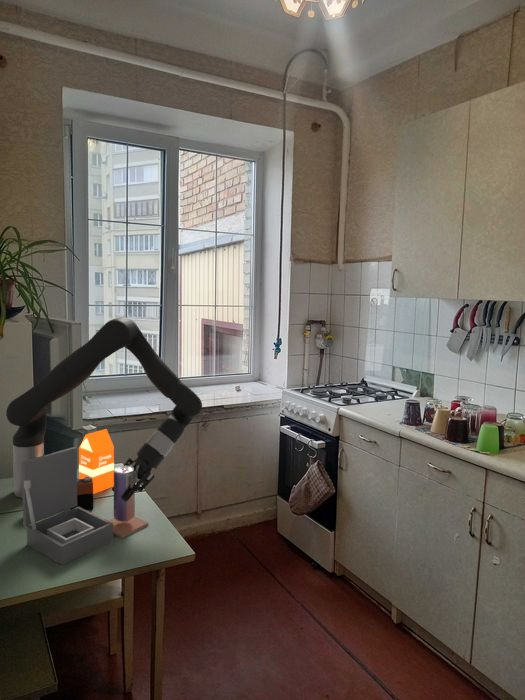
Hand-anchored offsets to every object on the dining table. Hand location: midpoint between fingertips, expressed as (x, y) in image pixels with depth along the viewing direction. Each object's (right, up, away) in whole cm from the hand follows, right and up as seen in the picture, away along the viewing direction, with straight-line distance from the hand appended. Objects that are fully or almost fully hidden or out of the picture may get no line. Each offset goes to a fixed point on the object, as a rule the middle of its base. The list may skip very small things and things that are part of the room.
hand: (118, 495), depth 147 cm
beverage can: (+1, -7, +2) cm, 8 cm away
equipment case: (-11, -11, -7) cm, 17 cm away
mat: (+1, -10, +2) cm, 10 cm away
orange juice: (-16, -5, +29) cm, 33 cm away
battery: (-15, -8, +12) cm, 21 cm away
